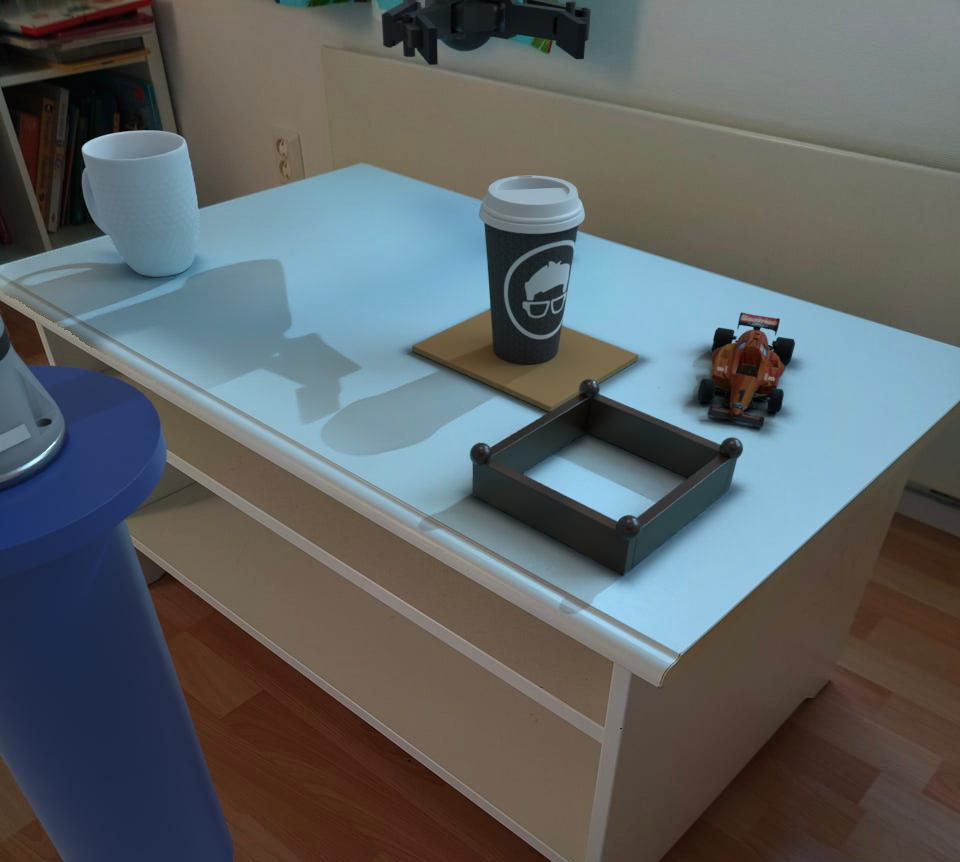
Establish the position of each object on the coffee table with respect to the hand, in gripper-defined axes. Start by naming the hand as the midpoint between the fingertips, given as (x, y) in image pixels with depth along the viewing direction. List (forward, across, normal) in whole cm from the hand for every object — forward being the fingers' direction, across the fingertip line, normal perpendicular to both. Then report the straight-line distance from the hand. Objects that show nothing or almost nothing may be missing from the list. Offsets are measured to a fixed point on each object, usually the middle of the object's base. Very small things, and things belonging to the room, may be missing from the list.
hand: (508, 44), depth 79 cm
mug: (-22, +37, -25) cm, 50 cm away
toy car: (+19, -19, -25) cm, 37 cm away
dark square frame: (+34, 0, -25) cm, 42 cm away
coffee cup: (+10, 0, -24) cm, 26 cm away
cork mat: (+10, 0, -25) cm, 27 cm away
